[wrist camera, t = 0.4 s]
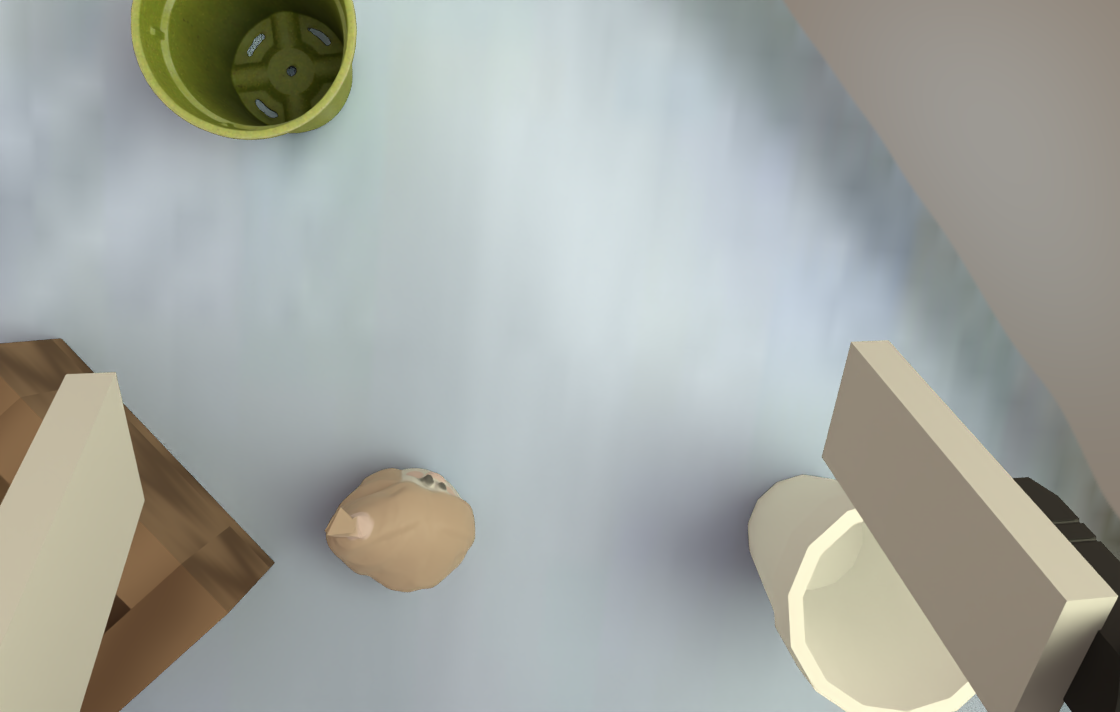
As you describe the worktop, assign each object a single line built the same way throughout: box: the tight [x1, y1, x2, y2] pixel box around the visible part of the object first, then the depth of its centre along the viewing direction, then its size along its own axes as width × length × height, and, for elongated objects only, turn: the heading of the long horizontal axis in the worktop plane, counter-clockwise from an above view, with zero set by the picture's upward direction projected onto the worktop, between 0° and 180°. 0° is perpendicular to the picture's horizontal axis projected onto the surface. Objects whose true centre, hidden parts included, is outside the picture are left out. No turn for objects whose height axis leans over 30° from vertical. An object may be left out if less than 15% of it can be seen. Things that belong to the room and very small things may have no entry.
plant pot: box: [131, 0, 357, 140], centre depth 44 cm, size 9×9×9 cm
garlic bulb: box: [325, 468, 475, 592], centre depth 46 cm, size 7×6×8 cm
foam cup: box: [748, 475, 976, 712], centre depth 44 cm, size 10×9×13 cm
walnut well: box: [0, 339, 275, 712], centre depth 45 cm, size 16×16×8 cm
